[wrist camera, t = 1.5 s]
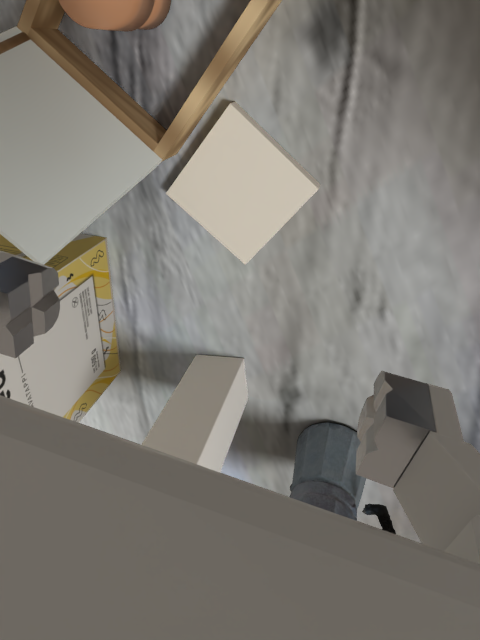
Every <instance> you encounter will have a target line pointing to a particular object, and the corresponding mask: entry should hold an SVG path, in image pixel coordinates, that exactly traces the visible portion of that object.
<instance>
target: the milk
mask: <svg viewBox="0 0 480 640" xmlns="http://www.w3.org/2000/svg"><path fill="white" fill-rule="evenodd" d="M247 400H248V390H247V381H246V372H245V363H244V358H234V357H221V356H208V355H196V356H195V357H194V359H193V361H192V362H191V364H190V366H189V367H188V369H187V371H186V372H185V374H184V376H183V377H182V379H181V381H180V382H179V384H178V385H177V387H176V389H175V390H174V392H173V394H172V395H171V397H170V399H169V400H168V402H167V404H166V405H165V407H164V409H163V410H162V412H161V413H160V415H159V417H158V418H157V420H156V422H155V423H154V425H153V427H152V428H151V430H150V432H149V433H148V435H147V437H146V438H145V440H144V442H143V443H142V445H143V446H146V447H149V448H152V449H155V450H158V451H160V452H163V453H166V454H169V455H172V456H175V457H177V458H180V459H183V460H186V461H189V462H191V463H194V464H197V465H200V466H203V467H206V468H208V469H211V470H214V471H217V472H221V469H222V466H223V464H224V461H225V458H226V456H227V453H228V451H229V448H230V445H231V443H232V440H233V437H234V435H235V432H236V429H237V427H238V424H239V421H240V419H241V416H242V414H243V411H244V408H245V406H246V403H247Z"/></svg>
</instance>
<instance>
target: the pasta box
mask: <svg viewBox="0 0 480 640" xmlns="http://www.w3.org/2000/svg"><path fill="white" fill-rule="evenodd" d="M0 251H3V252H7V253H10V254H13V255H16V256H18V257H22V258H25V259H28V260H31V259H30V258H29V257H28V256H26V255H25V254H24V253H23V252H22V251H20V250H19V249H18V248H17V247H15V246H14V245H13V244H12V243H11V242H9V241H8V240H7V239H6V238H4V237H3V236H2V235H1V234H0ZM31 261H33V260H31ZM44 265H46V266H49V267H52V268H54V269H55V270H56V271H57V272H58V277H59V285H58V287H57V288H56V289H55V290H54V291H55V293H56V295H57V296H58V298H59V299H60V311H59V316H58V319H57V320H56V322H55V324H54V326H53V327H52V328H51V329H50V330H49V331H48V332H47V333H45V334H42V335H38V336H34V344H32V345H31V346H30V347H29V348H28V349H26V350H25V351H24V352H23V353H22V354H20V355H19V356H18V357H17V358H12V357H9V356H6V355H3V354H0V395H1V396H4V397H7V398H10V399H12V400H15V401H18V402H21V403H24V404H27V405H29V406H32V407H35V408H38V409H41V410H44V411H46V412H49V413H52V414H55V415H58V416H61V417H64V418H66V419H69V420H72V421H75V422H78V423H79V422H80V421H81V419H82V418H83V417H84V416H85V415H86V413H87V412H88V411H89V410H90V408H91V407H92V406H93V405H94V403H95V402H96V401H97V400H98V399H99V397H100V396H101V395H102V394H103V392H104V391H105V390H106V389H107V387H108V386H109V385H110V384H111V383H112V381H113V380H114V379H115V378H116V376H117V375H118V374H119V373H120V372H121V363H120V354H119V345H118V336H117V327H116V318H115V309H114V300H113V291H112V282H111V273H110V264H109V255H108V246H107V238H104V237H98V236H93V235H87V234H81V233H80V234H79V235H78V236H76V237H75V238H74V239H73V240H72V241H71V242H70V243H68V244H67V245H66V246H65V247H64V248H63V249H62V250H60V251H59V252H58V253H57V254H56V255H55V256H53V257H52V258H51V259H50V260H49V261H48V262H47V263H45V264H44Z"/></svg>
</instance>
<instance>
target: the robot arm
mask: <svg viewBox="0 0 480 640" xmlns="http://www.w3.org/2000/svg"><path fill="white" fill-rule="evenodd" d="M58 285H59V277H58V272H57V271H56V270H55V269H54V268H52V267H49V266H46V265H43V264H40V263H37V262H34V261H31V260H28V259H25V258H22V257H18V256H16V255H13V254H10V253H7V252H3V251H0V354H3V355H6V356H9V357H12V358H17V357H18V356H19V355H20V354H22V353H23V352H24V351H25V350H26V349H28V348H29V347H30V346H31V345H32V344H34V336H38V335H42V334H45V333H47V332H48V331H49V330H50V329H51V328H52V327H53V326H54V324H55V322H56V320H57V319H58V316H59V311H60V299H59V298H58V296H57V295H56V293H55V291H54V290H55V289H56V288H57V287H58ZM357 437H358V439H359V440H360V442H361V443H360V445H359V447H358V449H357V451H356V475H359V476H362V477H364V478H367V479H370V480H372V481H375V482H378V483H381V484H383V485H386V486H389V487H391V488H394V489H393V491H394V493H395V494H396V496H397V498H398V500H399V502H400V504H401V506H402V507H403V509H404V511H405V513H406V515H407V517H408V518H409V520H410V522H411V524H412V526H413V528H414V530H415V531H416V533H417V535H418V537H419V539H420V541H421V542H422V544H421V543H418V542H416V541H413V540H410V539H407V538H404V537H401V536H399V535H396V534H393V533H390V532H387V531H384V530H382V529H379V528H376V527H373V526H370V525H367V524H364V523H362V522H359V521H356V520H353V519H350V518H347V517H344V516H341V515H339V514H336V513H333V512H330V511H327V510H324V509H321V508H319V507H316V506H313V505H310V504H307V503H304V502H302V501H299V500H296V499H293V498H290V497H287V496H285V495H282V494H279V493H276V492H273V491H271V490H268V489H265V488H262V487H259V486H256V485H254V484H251V483H248V482H245V481H242V480H239V479H237V478H234V477H231V476H228V475H225V474H223V473H220V472H217V471H214V470H211V469H208V468H206V467H203V466H200V465H197V464H194V463H191V462H189V461H186V460H183V459H180V458H177V457H175V456H172V455H169V454H166V453H163V452H160V451H158V450H155V449H152V448H149V447H146V446H143V445H140V444H138V443H135V442H132V441H129V440H126V439H123V438H120V437H118V436H115V435H112V434H109V433H106V432H103V431H101V430H98V429H95V428H92V427H89V426H86V425H83V424H81V423H78V422H75V421H72V420H69V419H66V418H64V417H61V416H58V415H55V414H52V413H49V412H46V411H44V410H41V409H38V408H35V407H32V406H29V405H27V404H24V403H21V402H18V401H15V400H12V399H10V398H7V397H4V396H1V395H0V640H480V453H479V452H478V451H477V450H476V449H475V448H474V447H473V446H472V445H471V444H469V443H466V442H464V440H463V436H462V432H461V428H460V424H459V420H458V416H457V412H456V408H455V404H454V400H453V396H452V393H451V391H450V390H449V389H445V388H442V387H438V386H434V385H431V384H427V383H422V382H419V381H415V380H412V379H409V378H405V377H402V376H398V375H395V374H391V373H388V372H385V371H381V372H380V374H379V375H378V377H377V379H376V381H375V383H374V395H372V396H370V397H368V398H367V399H366V401H365V404H364V406H363V408H362V411H361V414H360V417H359V422H358V428H357Z"/></svg>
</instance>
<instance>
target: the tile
mask: <svg viewBox="0 0 480 640" xmlns="http://www.w3.org/2000/svg"><path fill="white" fill-rule="evenodd" d="M319 187H320V184H319V183H318V182H317V181H316V180H315V179H314V178H313V177H312V176H311V175H310V174H309V173H308V172H307V171H306V170H305V169H304V168H303V167H302V166H301V165H300V164H299V163H298V162H297V161H296V160H295V159H294V158H293V157H292V156H291V155H290V154H289V153H287V152H286V151H285V150H284V149H283V148H282V147H281V146H280V145H279V144H278V143H277V142H276V141H275V140H274V139H273V138H272V137H271V136H270V135H269V134H268V133H267V132H266V131H265V130H264V129H263V128H262V127H261V126H260V125H259V124H258V123H257V122H256V121H255V120H254V119H253V118H252V117H250V116H249V115H248V114H247V113H246V112H245V111H244V110H243V109H242V108H241V107H240V106H239V105H238V104H237V103H236V102H232V103H230V104H229V106H228V107H227V108H226V110H225V111H224V113H223V114H222V115H221V117H220V118H219V120H218V121H217V122H216V124H215V125H214V127H213V128H212V129H211V131H210V132H209V134H208V135H207V136H206V138H205V139H204V141H203V142H202V143H201V145H200V146H199V148H198V149H197V150H196V152H195V153H194V155H193V156H192V157H191V159H190V160H189V162H188V163H187V164H186V166H185V167H184V169H183V170H182V171H181V173H180V174H179V176H178V177H177V178H176V180H175V181H174V183H173V184H172V186H171V187H170V188H169V190H168V191H167V193H166V194H167V195H168V196H169V197H170V198H171V199H173V200H174V201H175V202H176V203H177V204H178V205H179V206H180V207H182V208H183V209H184V210H185V211H186V212H187V213H188V214H189V215H190V216H192V217H193V218H194V219H195V220H196V221H197V222H198V223H199V224H200V225H202V226H203V227H204V228H205V229H206V230H207V231H208V232H209V233H210V234H212V235H213V236H214V237H215V238H216V239H217V240H218V241H219V242H220V243H222V244H223V245H224V246H225V247H226V248H227V249H228V250H229V251H231V252H232V253H233V254H234V255H235V256H236V257H237V258H238V259H239V260H241V261H242V262H243V263H244V264H245V265H246V264H247V263H248V262H249V261H250V260H251V259H252V257H253V256H254V255H255V254H256V253H257V252H258V251H259V250H260V249H261V248H262V247H263V246H264V245H265V244H266V243H267V242H268V241H269V240H270V239H271V238H272V237H273V236H274V235H275V234H276V233H277V232H278V231H279V230H280V229H281V227H282V226H283V225H284V224H285V223H286V222H287V221H288V220H289V219H290V218H291V217H292V216H293V215H294V214H295V213H296V212H297V211H298V210H299V209H300V208H301V207H302V206H303V205H304V204H305V203H306V202H307V201H308V200H309V198H310V197H311V196H312V195H313V194H314V193H315V192H316V191H317V190H318V189H319Z"/></svg>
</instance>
